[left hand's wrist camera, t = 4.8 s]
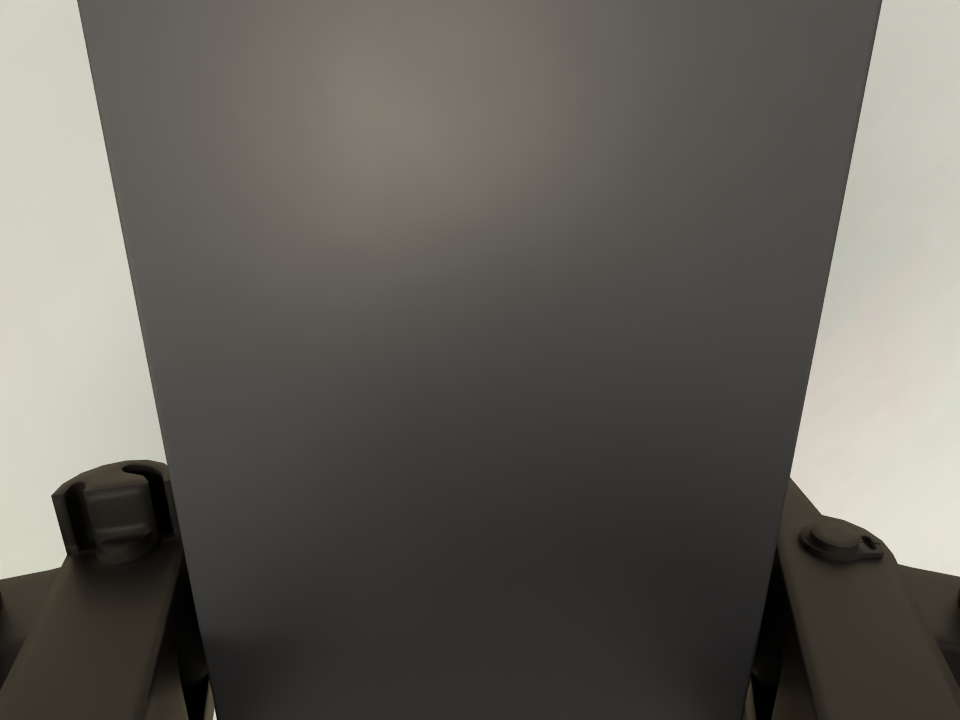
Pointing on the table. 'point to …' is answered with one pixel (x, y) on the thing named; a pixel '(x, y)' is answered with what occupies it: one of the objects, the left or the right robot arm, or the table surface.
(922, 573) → the left robot arm
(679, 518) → the bar
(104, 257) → the table surface
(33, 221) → the table surface
